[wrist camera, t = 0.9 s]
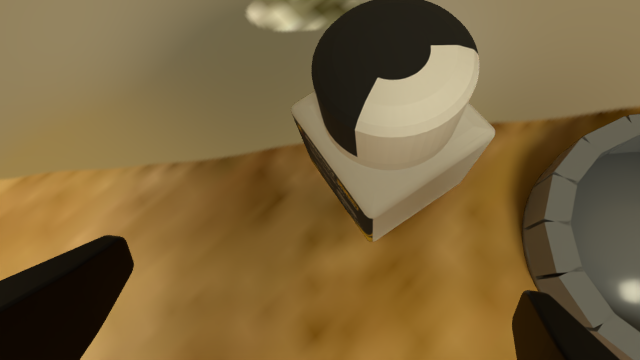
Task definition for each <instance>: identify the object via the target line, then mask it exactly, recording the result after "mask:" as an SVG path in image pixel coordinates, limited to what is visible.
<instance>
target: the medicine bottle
mask: <svg viewBox="0 0 640 360" xmlns="http://www.w3.org/2000/svg"><path fill="white" fill-rule="evenodd" d="M478 76H479V56H478V51H477V48H476V45H475V42H474V40H473V38H472V36H471V35H470V33H469V32H468V30H467V29H466V27H465V26H463V24H462V23H461V22H460V21H459V20H458V19H457V18H456V17H454V16H453V15H452V14H451V13H449V12H448V11H446V10H445V9H443V8H442V7H440V6H438V5H435V4H433V3H431V2H428V1H425V0H372V1H368V2H366V3H363V4H361V5H358V6H357V7H355V8H353V9H351V10H349V11H348V12H346V13H345V14H343V15H342V16H341V17H340V18H338V19H337V20H336V21H335V22H334V23H333V24H332V25H331V26H330V27H329V28H328V29H327V30H326V31H325V33H324V34H323V36H322V37H321V39H320V40H319V43H318V45H317V47H316V49H315V52H314V55H313V61H312V80H313V85H314V89H315V91H313V92H312V93H310V94H309V95H307V96H305V97H304V98H302V99H301V100H299V101H298V102H296V103H295V104H293V105H292V108H291V112H292V115H293V117H294V120H295V122H296V125H297V127H298V129H299V132H300V134H301V136H302V139H303V141H304V144H305V146H306V148H307V151H308V153H309V156H310V158H311V160H312V162H313V163H314V165H315V166H316V168H317V169H318V171H319V172H320V173H321V175H322V176H323V178H324V179H325V180H326V182H327V183H328V185H329V186H330V188H331V189H332V190H333V192H334V193H335V195H336V196H337V197H338V199H339V200H340V202H341V203H342V204H343V206H344V207H345V209H346V210H347V212H348V213H349V214H350V216H351V217H352V219H353V220H354V221H355V223H356V224H357V226H358V227H359V229H360V230H361V231H362V233H363V234H364V236H365V237H366V238H367V240H369V241H371V242H374V241H376V240H378V239H379V238H381V237H382V236H383V235H385V234H386V233H388V232H389V231H391V230H392V229H394V228H395V227H397V226H398V225H400V224H401V223H402V222H404V221H405V220H407V219H408V218H410V217H411V216H413V215H414V214H416V213H417V212H418V211H420V210H421V209H423V208H424V207H426V206H427V205H429V204H430V203H432V202H433V201H434V200H436V199H437V198H439V197H440V196H442V195H443V194H445V193H446V192H448V191H449V190H451V189H452V188H453V187H455V186H456V185H458V184H459V183H460V182H461V181H462V180H463V178H464V177H465V176H466V174H467V173H468V172H469V170H470V169H471V168H472V166H473V165H474V163H475V162H476V161H477V159H478V158H479V157H480V155H481V154H482V153H483V151H484V150H485V148H486V147H487V146H488V144H489V143H490V142H491V140H492V139H493V138H494V136H495V129H494V128H493V127H492V126H491V125H490V124H489V122H488V121H487V120H486V119H485V118H484V117H483V116H482V115H481V114H480V113H479V112H478V111H477V110H476V109H475V108H474V107H473V106H472V105H471V104H470V103H469V100H470V97H471V95H472V93H473V91H474V89H475V86H476V84H477V80H478Z"/></svg>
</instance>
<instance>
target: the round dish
mask: <svg viewBox="0 0 640 360" xmlns="http://www.w3.org/2000/svg"><path fill="white" fill-rule="evenodd" d="M522 241H523V247H524V254H525V258H526V261H527V265H528V268H529V271H530V274H531V276H532V278H533V281H534V283H535V285H536V287H537V289H538V291H539V292H545V293H547V294H549V295H550V296H552V297H553V298H554V299H555V300H556V301H557V302H558V303H559V304H560V305H561V306H563V307H564V308H565V309H566V310H567V311H568V312H569V313H570V314H571V315H572V316H573V317H575V318H576V319H577V320H578V321H579V322H580V323H581V324H582V325H583V326H584V327H585V328H586V329H588V330H589V331H590V332H591V333H592V334H593V335H594V336H595V337H596V338H597V339H598V340H600V341H601V342H602V343H603V344H604V345H605V346H606V347H607V348H608V349H609V350H610V351H611V352H613V353H614V354H615V355H616V356H617V357H618V358H619V359H620V360H640V114H636V115H628V116H627V117H625V116H624V117H622V118H620V119H618V120H616V121H614V122H612V123H610V124H608V125H606V126H604V127H601V128H599V129H597V130H595V131H593V132H591V133H589V134H587V135H585V136H583V137H582V138H581V139H579V140H578V141H577V142H576V143H574V144H573V145H572V146H571V147H569V148H568V149H567V150H566V151H564V152H563V153H562V154H560V155H559V156H558V157H557V158H556V159H555V161H554V162H553V163H552V164H551V165H550V166H549V167H548V168H547V169H546V170H545V171H544V173H543V174H542V175H541V176H540V178H539V179H538V180H537V182H536V183H535V185H534V186H533V189H532V191H531V193H530V195H529V197H528V200H527V203H526V206H525V210H524V216H523V223H522Z"/></svg>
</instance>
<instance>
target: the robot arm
mask: <svg viewBox="0 0 640 360" xmlns="http://www.w3.org/2000/svg"><path fill="white" fill-rule="evenodd" d="M133 267H134V262H133V259H132V256H131V253H130V250H129V247H128V245H127V242H126V240H125V239H124V238H123V237H120V236H112V235H106V236H103V237H100V238H98V239H96V240H93V241H91V242H89V243H86V244H84V245H82V246H80V247H77V248H75V249H73V250H70V251H68V252H66V253H63V254H61V255H59V256H56V257H54V258H52V259H49V260H47V261H45V262H42V263H40V264H38V265H36V266H33V267H31V268H29V269H26V270H24V271H22V272H19V273H17V274H15V275H12V276H10V277H8V278H5V279H3V280H1V281H0V360H80V359H81V357H82V356H83V354H84V353H85V351H86V350H87V348H88V347H89V345H90V344H91V342H92V341H93V339H94V338H95V336H96V335H97V333H98V332H99V330H100V329H101V327H102V325H103V323H104V322H105V320H106V318H107V316H108V315H109V313H110V311H111V309H112V307H113V306H114V304H115V302H116V300H117V298H118V297H119V295H120V293H121V291H122V289H123V288H124V286H125V284H126V282H127V280H128V279H129V277H130V275H131V273H132V271H133ZM512 330H513V337H514V343H515V349H516V356H517V360H620V359H619V358H618V357H617V356H616V355H615V354H614V353H613V352H611V351H610V350H609V349H608V348H607V347H606V346H605V345H604V344H603V343H602V342H601V341H600V340H598V339H597V338H596V337H595V336H594V335H593V334H592V333H591V332H590V331H589V330H588V329H586V328H585V327H584V326H583V325H582V324H581V323H580V322H579V321H578V320H577V319H576V318H575V317H573V316H572V315H571V314H570V313H569V312H568V311H567V310H566V309H565V308H564V307H563V306H561V305H560V304H559V303H558V302H557V301H556V300H555V299H554V298H553V297H552V296H550V295H549V294H547V293H545V292H538V291H530V290H527V291H524V292H523V293H522V295H521V298H520V300H519V303H518V305H517V308H516V311H515V313H514V316H513V320H512Z"/></svg>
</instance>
